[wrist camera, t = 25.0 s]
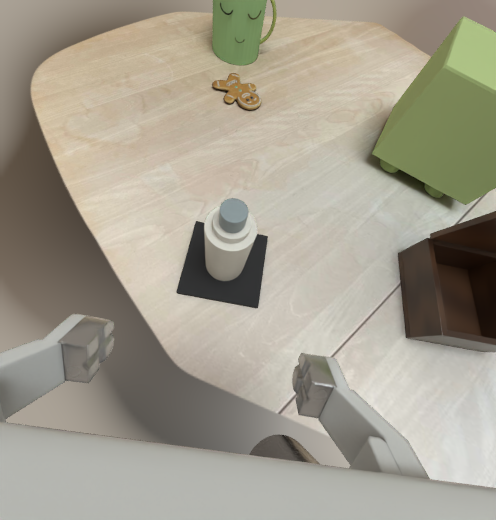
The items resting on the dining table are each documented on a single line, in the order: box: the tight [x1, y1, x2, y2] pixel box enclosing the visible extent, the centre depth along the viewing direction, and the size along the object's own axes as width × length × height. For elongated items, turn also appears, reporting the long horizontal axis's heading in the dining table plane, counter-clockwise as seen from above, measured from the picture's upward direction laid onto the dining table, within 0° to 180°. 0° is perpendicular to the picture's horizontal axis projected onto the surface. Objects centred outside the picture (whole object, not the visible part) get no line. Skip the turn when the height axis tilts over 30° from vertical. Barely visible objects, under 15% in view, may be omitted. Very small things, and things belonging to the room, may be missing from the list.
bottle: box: [204, 198, 258, 281], centre depth 27 cm, size 5×5×14 cm
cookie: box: [212, 73, 261, 110], centre depth 47 cm, size 8×1×10 cm
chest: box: [398, 238, 496, 352], centre depth 35 cm, size 14×13×6 cm
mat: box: [177, 221, 268, 308], centre depth 34 cm, size 11×11×1 cm
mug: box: [212, 0, 276, 65], centre depth 47 cm, size 13×10×12 cm
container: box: [372, 17, 496, 205], centre depth 39 cm, size 19×16×20 cm
